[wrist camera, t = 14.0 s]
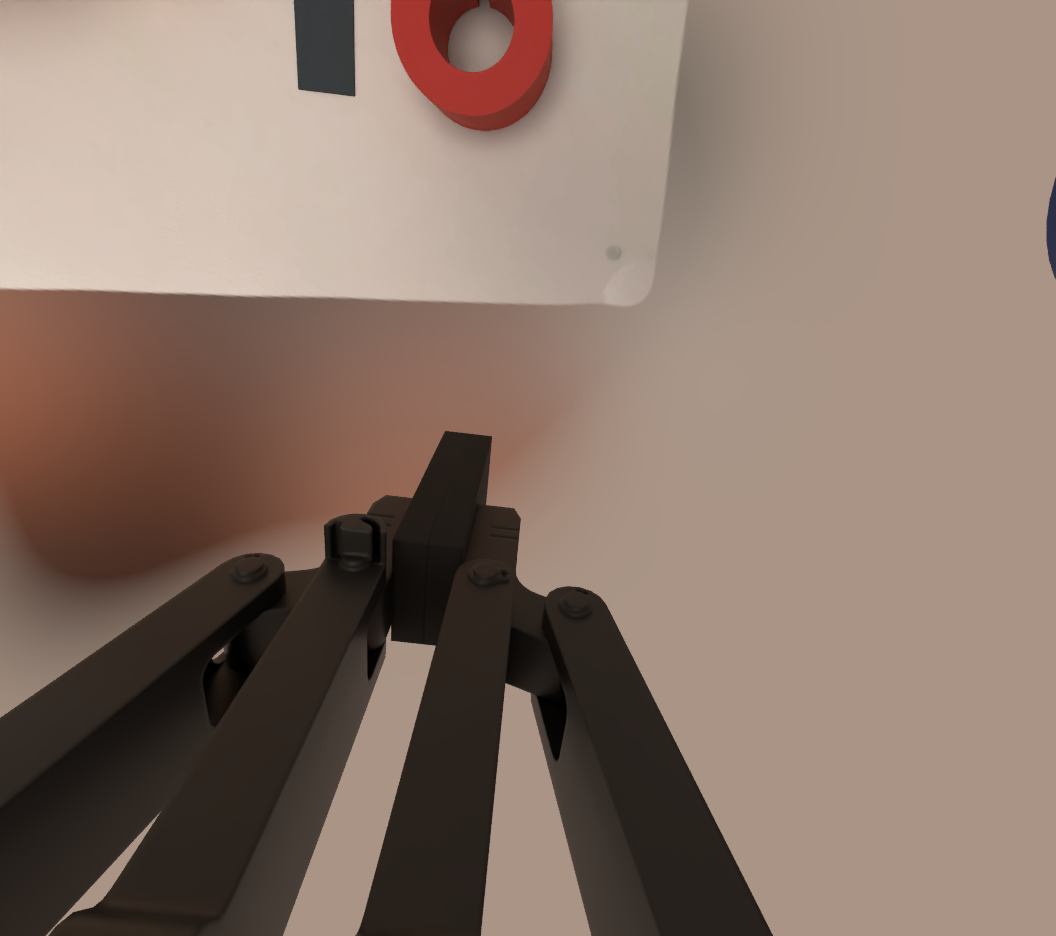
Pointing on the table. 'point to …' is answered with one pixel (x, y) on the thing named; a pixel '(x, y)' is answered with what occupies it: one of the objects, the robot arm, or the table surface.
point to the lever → (475, 97)
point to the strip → (325, 45)
